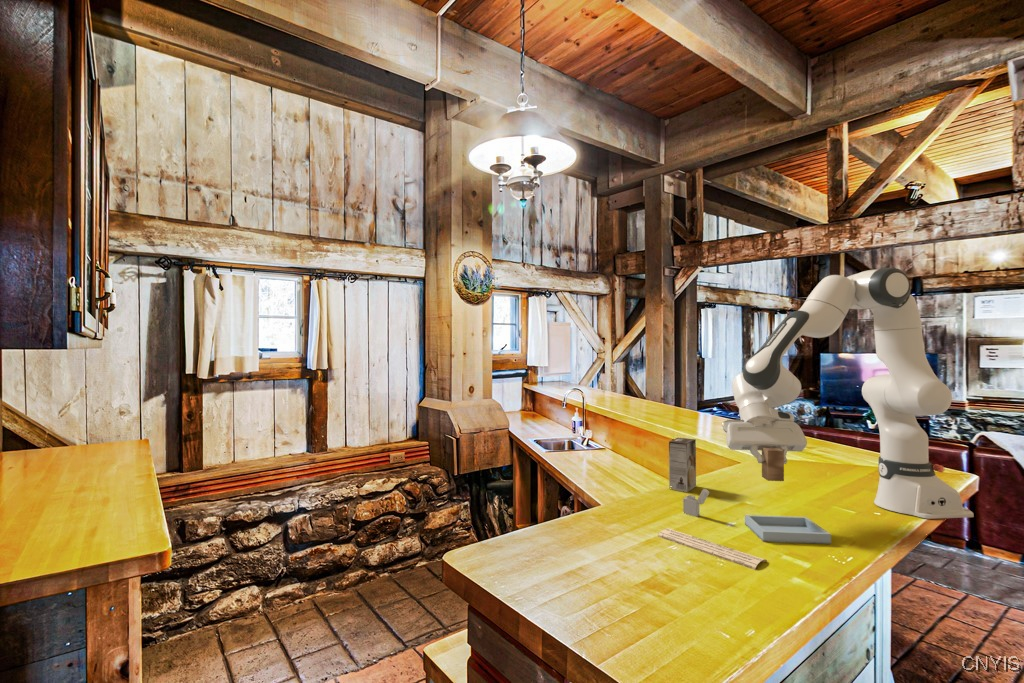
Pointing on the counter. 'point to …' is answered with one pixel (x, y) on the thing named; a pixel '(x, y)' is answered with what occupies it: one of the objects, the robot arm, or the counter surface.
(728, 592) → the counter surface
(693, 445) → the coffee box
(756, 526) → the slate tray
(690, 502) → the lighter
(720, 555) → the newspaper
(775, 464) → the walnut block
